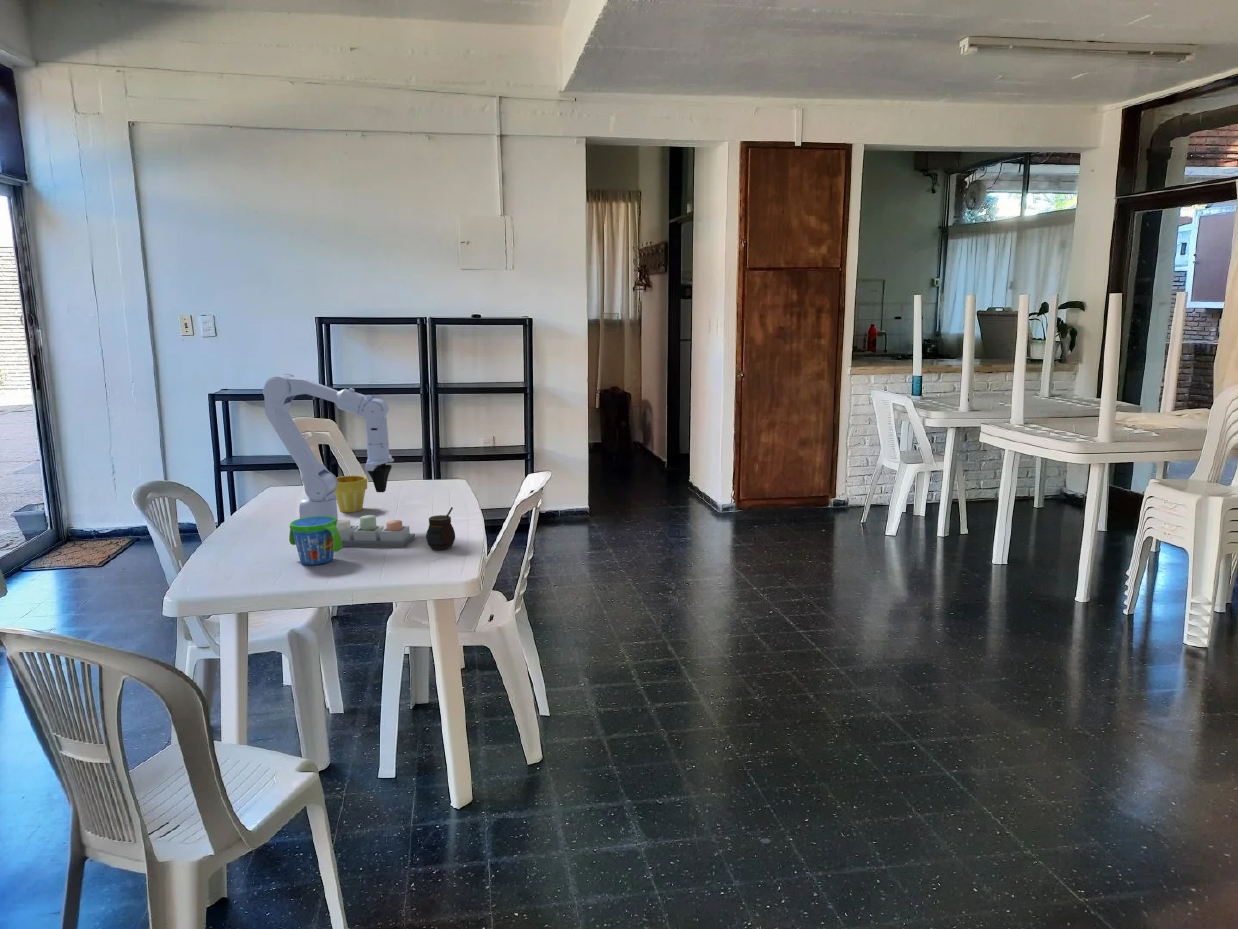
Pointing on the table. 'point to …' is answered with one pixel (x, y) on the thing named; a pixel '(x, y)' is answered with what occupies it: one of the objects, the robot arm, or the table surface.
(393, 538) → the button panel
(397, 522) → the terracotta button
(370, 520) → the sage button
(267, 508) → the table surface
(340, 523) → the cream button
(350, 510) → the plant pot
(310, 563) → the snack cup
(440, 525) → the mate gourd
